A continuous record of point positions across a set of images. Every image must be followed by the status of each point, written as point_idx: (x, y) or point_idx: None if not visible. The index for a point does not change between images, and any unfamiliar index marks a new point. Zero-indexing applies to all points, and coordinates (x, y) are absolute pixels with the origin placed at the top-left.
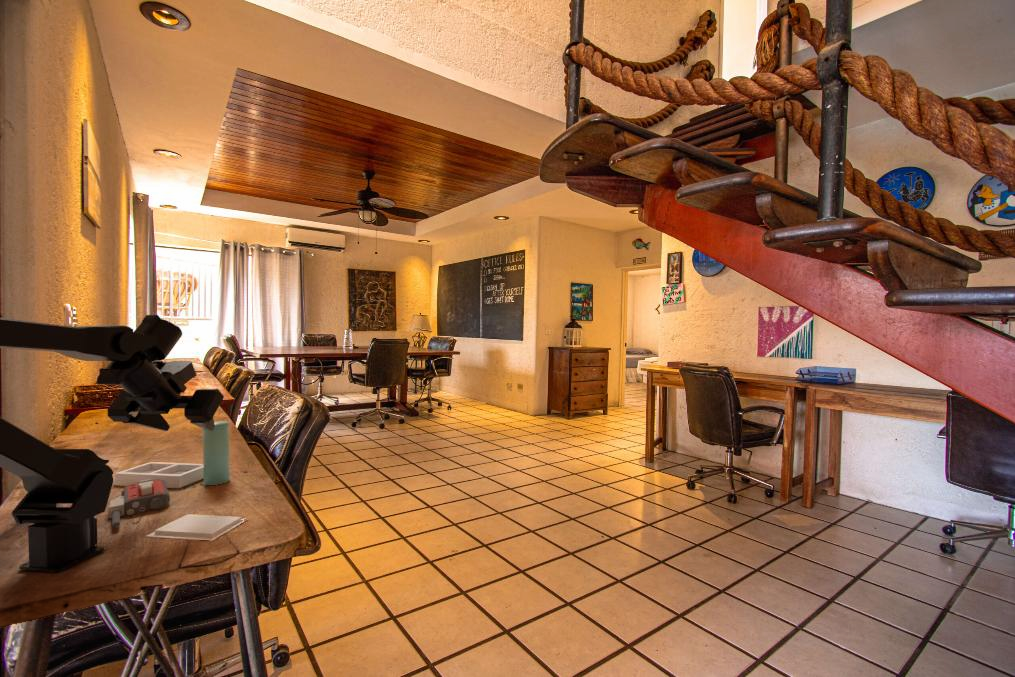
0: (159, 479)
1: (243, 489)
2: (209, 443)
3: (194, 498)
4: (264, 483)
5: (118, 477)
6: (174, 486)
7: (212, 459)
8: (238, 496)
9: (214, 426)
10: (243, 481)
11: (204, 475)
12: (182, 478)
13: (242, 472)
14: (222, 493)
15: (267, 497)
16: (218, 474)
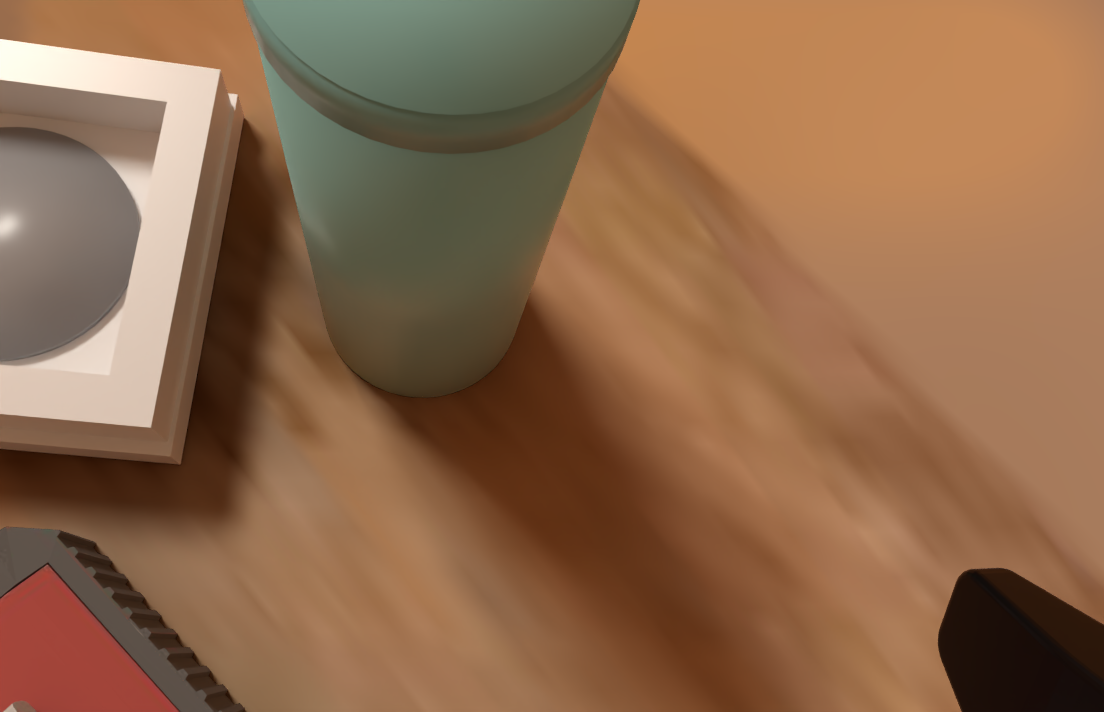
0: (1, 540)
1: (775, 471)
2: (447, 244)
3: (514, 701)
4: (844, 331)
5: None
6: (126, 456)
7: (469, 316)
8: (851, 631)
9: (1012, 583)
10: (640, 284)
11: (365, 356)
12: (166, 403)
13: None
14: (669, 570)
15: None
16: (497, 343)
